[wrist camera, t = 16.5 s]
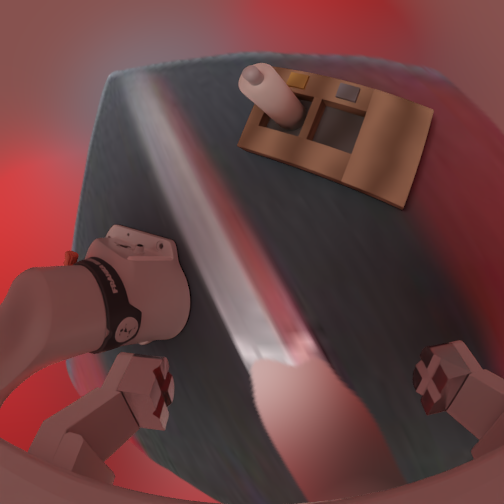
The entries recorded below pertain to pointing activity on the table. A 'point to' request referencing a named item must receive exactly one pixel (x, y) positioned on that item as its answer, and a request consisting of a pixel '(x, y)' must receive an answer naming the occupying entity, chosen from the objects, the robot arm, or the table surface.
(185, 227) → the table surface
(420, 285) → the table surface
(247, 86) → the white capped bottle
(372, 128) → the board
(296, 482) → the table surface
